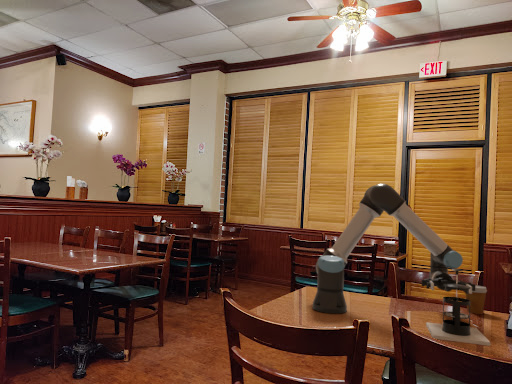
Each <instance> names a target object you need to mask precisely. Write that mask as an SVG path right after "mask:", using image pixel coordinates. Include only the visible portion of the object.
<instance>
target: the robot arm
mask: <svg viewBox="0 0 512 384" xmlns="http://www.w3.org/2000/svg"><path fill="white" fill-rule="evenodd" d="M406 202H407V201H406V200H405V199H404V198H403V197H402V195H400V193H398V191H396V190H395V188H393V187H392V186H391V185H389V184H386V183H378V184H376V185H372V186H370V187H369V188H367V189H366V190H365V192H364V194H363V197H362V198H361V200H360V202H358V205H359V208H358V209H357V211H356V212H355V214H354V215H353V217H352V218H351V220H350V221H349V223H347V226H346V227H345V228H344V230H343V231H342V232H341V234H340V236H339V237H338V238H337V240H336V241H335V243H334V244H333V245H332V246H331V247H330V248H326V250H325V251H324V253H323V254H322V255H321V256H319V257H318V259H317V261H316V263H315V271H316V272H315V273H316V274H317V282H316V283H317V285H316V286H317V288H316V293H315V296H314V299H313V301H312V310H314V311H316V312H319V313H325V314H335V315H336V314H344V313H346V312H347V311H348V306H347V301H346V298H345V295H344V285H345V283H344V282H345V267H346V266H347V264H348V257H349V256H350V254H351V253H352V252H353V250H354V248H355V247H356V246H357V244H358V243H359V241H360V240H361V238H362V237H363V236H364V234H365V233H366V231H367V230H368V229H369V227H370V225H372V223H373V221H374V220H375V219H376V218H380V217H381V216H382V215H383V213H384V212H385V213H386V214H387V215H388V216H390V217H394V218H395V219H396V220H397V221H398V222H399V223H400V224H401V225H402V226H403V227H404V228H405V230H407V231H408V232H409V233H410V234H411V235H412V236H413V237H414V238H415V239H416V240H417V241H418V242H419V243H421V245H423V247H425V248H426V250H428V252H430V253H429V254H430V259H429V261H430V265H429V266H430V267H429V270H430V271H429V275H428V276H429V277H427V278H424V279H422V280H421V287H425V288H426V290H427V289H429V290H431V291H434V290H435V287H436V288H437V289H439V290H442V291H445V286H444V284H456V279H453V277H452V276H451V274H449V273H448V271H449V269H459V267H461V266H462V264H463V259H464V258H463V256H462V255H461V253H459V252H458V251H456V250H454V249H453V248H452V247H451V246H449V245H448V243H447V242H445V240H443V239H442V238H441V237H440V236H439V235H438V234H437V233H436V232H435V231H434V230H433V229H432V227H430V226H429V225H428V224H427V223H426V222H425V221H423V219H422V218H421V217H420V216H419V215H418V214H416V212H415V211H413V210H412V209H411V207H409V206H408V205H407V204H406ZM457 284H460V285H465V286H469V287H471V288H470V289H469V293H470V294H472V291H475V285H476V284H474V283H472V282H467V281H463V280H461V279H460V280H457Z"/></svg>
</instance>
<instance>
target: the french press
mask: <svg viewBox="0 0 512 384" xmlns="http://www.w3.org/2000/svg"><path fill="white" fill-rule="evenodd" d="M450 269H451V270H450V271H452V272H455V275H456V278H455V280H456V284H444V286H445V290H444V291H445V292H451V291H456V292H455V296H443V298H442V324H443V328H442V330H443V331H444V332H446V333H449V334H453V335H459V336H469V335H470V334H471V333H470V327H471V312H470V300H468V299H466V298H464V297H459V296H458V291H460V292H464V293H466V294H469V289H470V288H471V287H469V286H465V285H460V284H457V282H458V276H459V272H464V270H462V269H461V268H460V269H459V268H450ZM466 294H465V295H466ZM445 303H446V304H450V305H452V306H451V307H452V308H451V309H452V310H451V311H445ZM468 305H469V312H468V314H467V313H462V312H461V306H466V307H467V306H468ZM445 316H446V317H448V318H451V319H445ZM462 320H468V322H466V321H462Z"/></svg>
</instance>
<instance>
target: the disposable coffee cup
mask: <svg viewBox="0 0 512 384" xmlns="http://www.w3.org/2000/svg"><path fill="white" fill-rule="evenodd" d="M487 292H488V289H487V287H486V286H482V285H476V284H475V291H472V294H470V293H469V294H466V293H465V292H464V293H465V299H468V300H470V314H477V315H482V314H484V307H485V302H486V296H487ZM466 309H467V312H468V313H469V305H468V306H466Z"/></svg>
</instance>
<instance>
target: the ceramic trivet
mask: <svg viewBox="0 0 512 384" xmlns="http://www.w3.org/2000/svg"><path fill="white" fill-rule="evenodd" d="M425 326H426V328H427V330H428V332H429V334H430V335H431V338H432V339H433V338H435V340H440V341H449V342H458V343H465V344H473V345H474V344H475V345H480V346H490V347H491V342H490V340H489V339H488V338H487V337H486V336H485V335H484V334H483V333H482V332H481V331H480V330H479V329H478V328H477V327H471V326H470V333H471V334H470V335H469V336H459V335H453V334H449V333H446V332H444V331H443V330H442V328H443V323H435V322H428V321H427V322H425Z"/></svg>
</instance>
